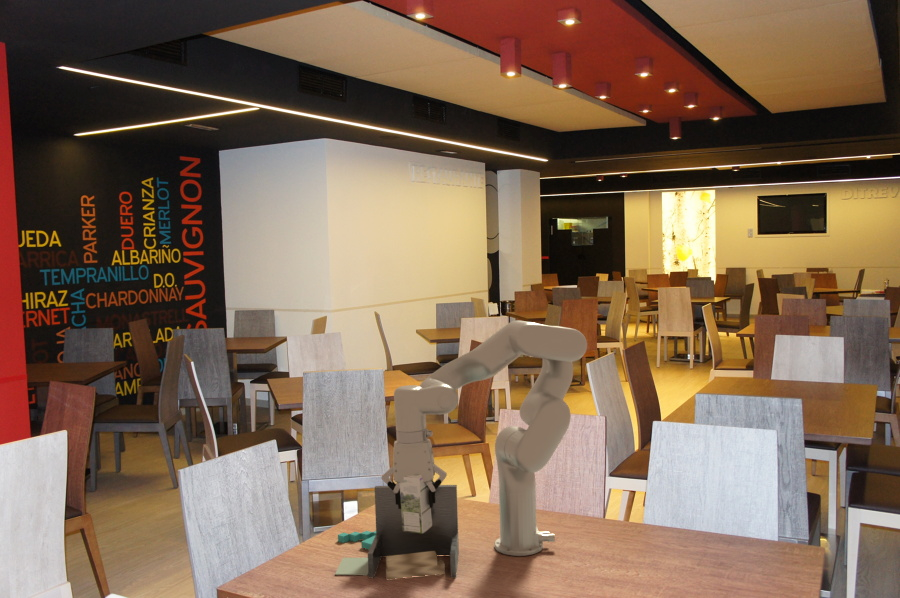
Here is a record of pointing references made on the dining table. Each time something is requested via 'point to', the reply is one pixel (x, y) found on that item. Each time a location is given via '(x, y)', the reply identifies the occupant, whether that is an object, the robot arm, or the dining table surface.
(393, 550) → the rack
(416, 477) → the syrup box
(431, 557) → the offcut stack
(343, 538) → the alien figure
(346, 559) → the mat
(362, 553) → the dining table surface
